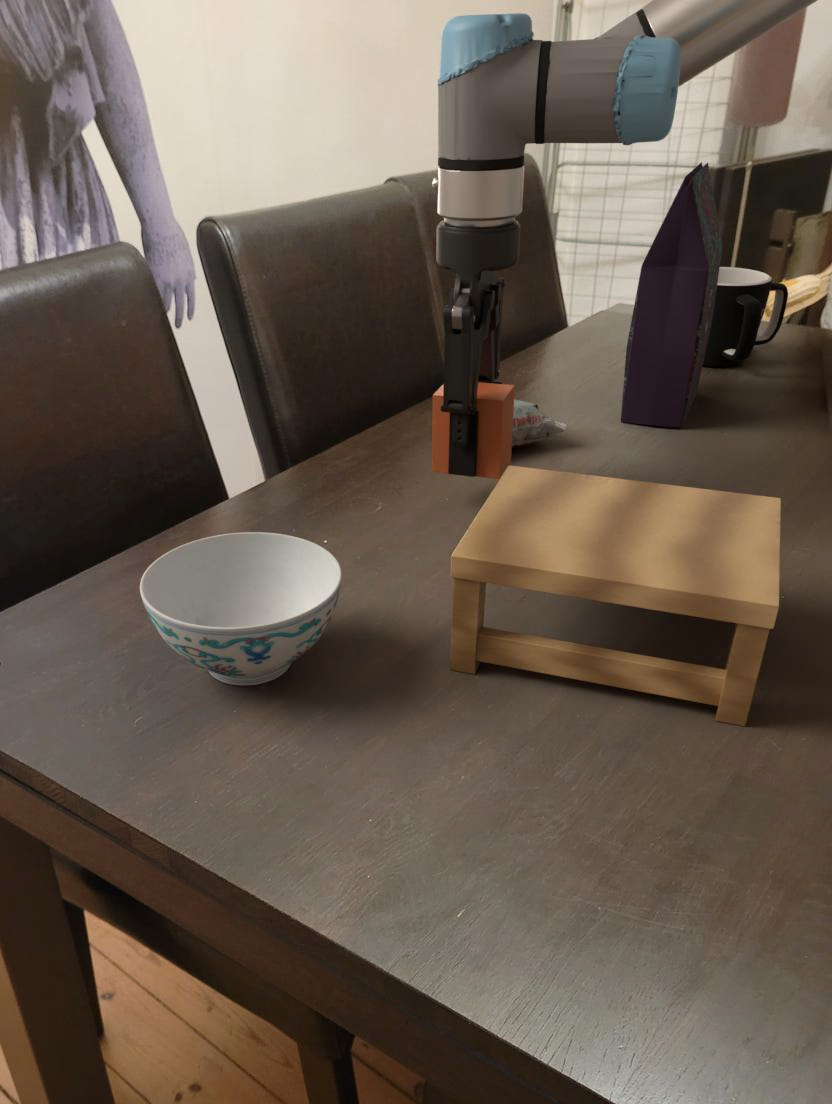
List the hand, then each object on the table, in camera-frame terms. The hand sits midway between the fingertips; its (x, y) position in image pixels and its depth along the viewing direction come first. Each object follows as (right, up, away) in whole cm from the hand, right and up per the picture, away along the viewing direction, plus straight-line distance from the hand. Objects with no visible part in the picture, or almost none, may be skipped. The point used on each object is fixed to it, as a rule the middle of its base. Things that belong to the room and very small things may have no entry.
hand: (469, 463), depth 98 cm
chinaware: (-20, -20, -22) cm, 36 cm away
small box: (0, 0, 0) cm, 0 cm away
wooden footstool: (+9, -18, -20) cm, 29 cm away
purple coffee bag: (+28, +12, +27) cm, 40 cm away
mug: (+41, +23, +44) cm, 65 cm away
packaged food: (+6, +5, +16) cm, 18 cm away
